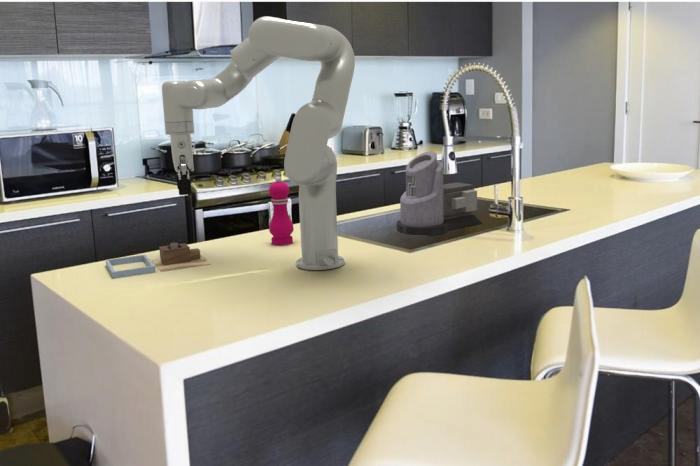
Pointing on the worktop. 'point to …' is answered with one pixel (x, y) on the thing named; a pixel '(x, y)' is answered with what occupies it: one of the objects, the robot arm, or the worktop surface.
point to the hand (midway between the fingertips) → (184, 191)
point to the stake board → (181, 265)
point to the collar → (178, 254)
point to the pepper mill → (280, 214)
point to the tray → (130, 271)
